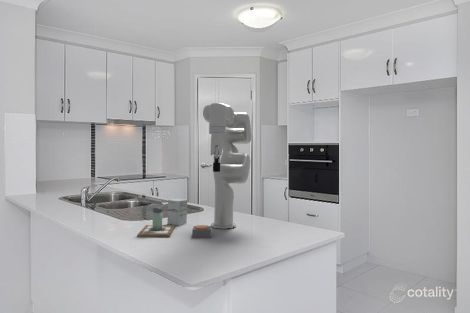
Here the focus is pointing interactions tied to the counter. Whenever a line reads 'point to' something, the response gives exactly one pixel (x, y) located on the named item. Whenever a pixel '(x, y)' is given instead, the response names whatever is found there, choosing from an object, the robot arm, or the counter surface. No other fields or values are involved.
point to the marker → (157, 218)
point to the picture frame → (156, 231)
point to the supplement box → (177, 211)
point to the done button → (202, 227)
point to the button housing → (201, 232)
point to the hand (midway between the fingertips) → (216, 171)
